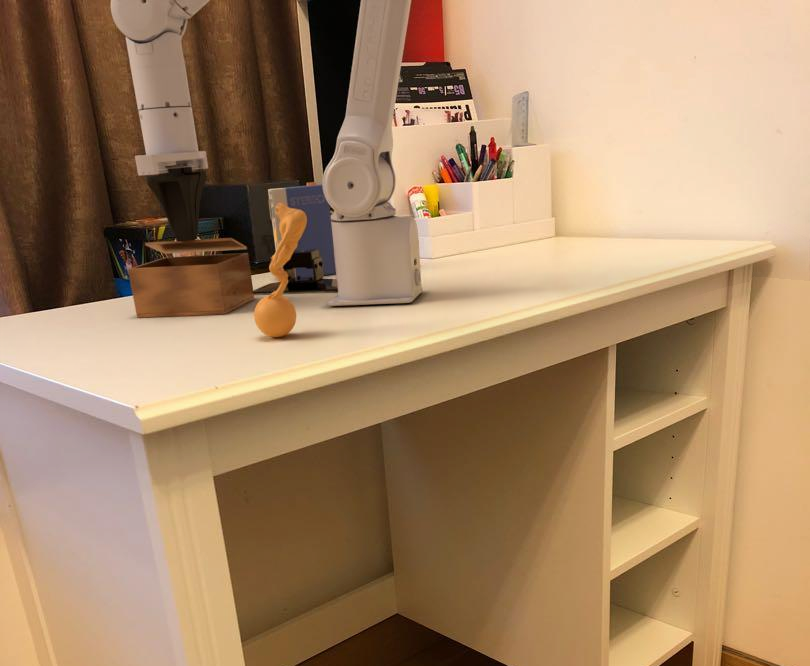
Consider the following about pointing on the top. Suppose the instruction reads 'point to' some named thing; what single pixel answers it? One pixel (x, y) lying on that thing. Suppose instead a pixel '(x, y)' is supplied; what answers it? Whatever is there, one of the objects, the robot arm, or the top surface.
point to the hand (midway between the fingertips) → (186, 240)
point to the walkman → (316, 226)
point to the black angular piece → (303, 284)
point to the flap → (196, 245)
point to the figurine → (281, 276)
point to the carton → (191, 285)
